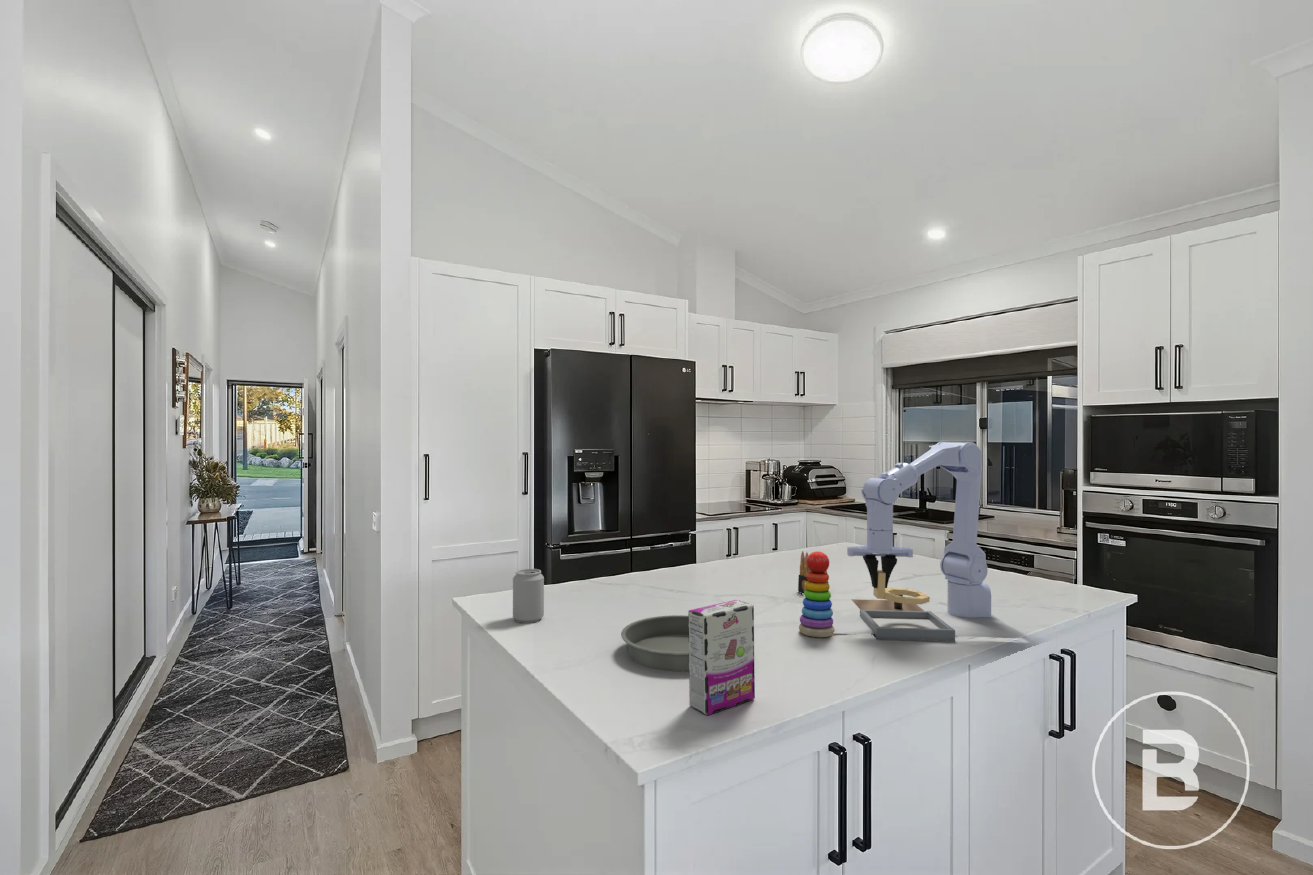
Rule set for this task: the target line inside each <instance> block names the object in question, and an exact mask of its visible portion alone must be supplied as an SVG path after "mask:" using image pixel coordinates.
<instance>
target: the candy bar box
mask: <svg viewBox="0 0 1313 875" xmlns="http://www.w3.org/2000/svg"><path fill="white" fill-rule="evenodd" d="M754 606H755V605H754V604H750V603H748V602H745V601H741V600H739V599H734V600H729V601H723V602H720V603H715V604H711V605H707V606H702V607H698V608H694V609H688V611H687V612H688V615H687V616H688V618H689V671H688V672H689V674H688V676H689V677H688V678H689V680H688V682H689V685H688V686H689V687H688V688H689V691H688V692H689V707H691V708H692V709H694V710H695V711H698V712H700V713H702V714H703V715H706V716H710V715H713V714H716V713H719V712H721V711H724V710H727V709H730V708H733V707H736V706H738V705H741V704H744V703H746V702H749V701H752V700H755V698H756V694H755V693H756V692H755V691H756V690H755V685H756V684H755V678H756V677H755V623H754V622H755V608H754Z"/></svg>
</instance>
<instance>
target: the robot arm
mask: <svg viewBox="0 0 1313 875" xmlns="http://www.w3.org/2000/svg"><path fill="white" fill-rule="evenodd" d="M982 463H983V451H982V450H981V449H980V447H979V446H978V445H977V444H976V443H974V442H972V441H966V442H957V441H955V442H952V441H948V442H947V441H939V442H937V443H936V444H933V445H931V447H930V449H929V450H927V451H926V452H925V453H923V454H922V455H921V456H919V457H918V458H916V459H915V460H913V461H912V462H910V463H907V462H897V463H895V464H894V467H893V468H891V469H889V470H888V471H886V472H885V471H884V472H881V473H880V476H878V477H871V478H869V479H867V480H866V481H865V483H864V485H863V487H862V489H860V490H861V495H862V497H863V499H864V502H865V507H866V545H864V546H863V545H861V546H847V552H846V554H847V556H848V557H862V558H863V562H864V563H865V565H866V568H867V571H868V574H869V576H870V581H871V586H872V587H873V589H874V588H877V585H878V580H877V571H878V570H879V560H878V559H877V558H878V557H880V562H881V570H882V571H883V572H885V573H886V575H885V589H886V588H888V585H889V581H890V577H891V575H892V572H893V570H894V568H895V566H897V563H898V558H899V557H905V558H913V557H914V549H913V548H911V547H900V546H894V540H893V539H894V538H893V537H894V528H893V527H894V503H896V502H897V501H898V498H899V496H900V494H902V492H904V491H906V490H907V489H909V488H910V487H912V486H914V485H915V484H917V482H918V480H919V477H920V476H921V475H923V474H925V473H927V472H929V471H930V470H933V469H935V468H937V467H940V468H942V469H943V470H945V471H946V472H948V473H950V474H951V475H952V476H953V477H954V478H955V479H956V491H955V503H954V505H955V506H954V516H953V532H952V541H951V542H950V543H948V544H947V545H946V546H944V548H943V553H942V554H943V555H942V557H941V559H940V564H939V567H940V571H941V573H942V575H943V576H945V577H944V579H945V580H947V606H946V607H947V608H946V609H947V610H946V611H947V613H948V614H950V615H951V616H955V617H961V618H973V619H974V618H992V593H991V592H992V591H991V588H990V585H989V584H988V583H987V582H984V581H985V580H986V578H987V576H988V573H989V572H988V570H989V568H988V565H987V561H986V558H987V557H986V553H985V551H984V550H983V549H982V548H981V547H980V546H979V544H977V540H978V526H979V513H980V502H981V501H980V499H981V485H982ZM897 557H898V558H897Z"/></svg>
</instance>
